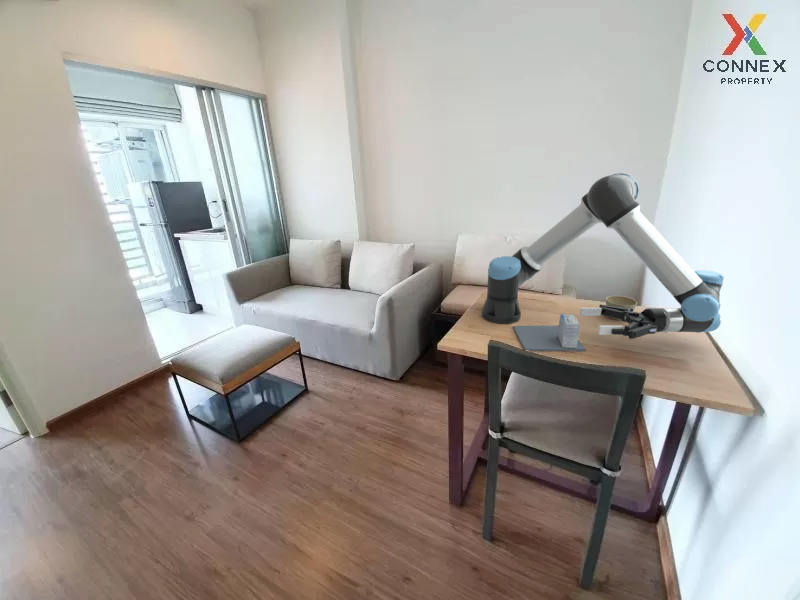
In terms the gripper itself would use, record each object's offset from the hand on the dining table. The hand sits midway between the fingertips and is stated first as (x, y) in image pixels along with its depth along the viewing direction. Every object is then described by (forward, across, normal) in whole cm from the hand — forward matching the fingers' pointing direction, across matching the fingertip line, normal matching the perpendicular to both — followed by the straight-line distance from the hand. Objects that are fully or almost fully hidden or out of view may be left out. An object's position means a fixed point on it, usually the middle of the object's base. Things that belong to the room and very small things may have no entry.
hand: (589, 320), depth 106 cm
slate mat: (+11, +4, -9) cm, 15 cm away
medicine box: (+6, 0, -8) cm, 10 cm away
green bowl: (-21, +22, -9) cm, 32 cm away
